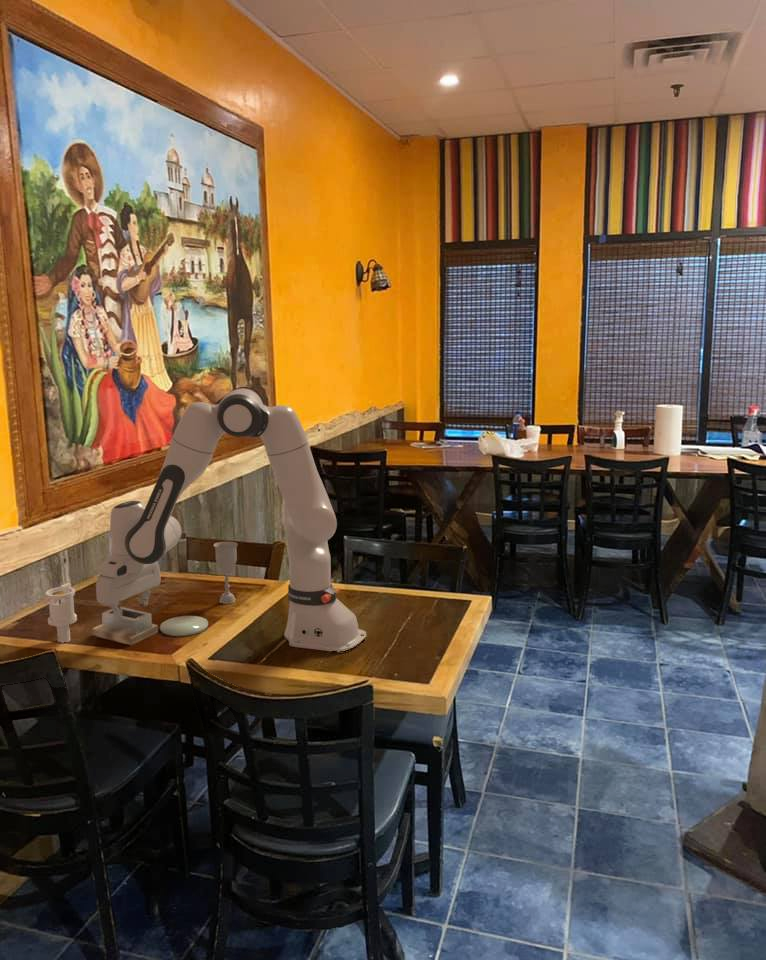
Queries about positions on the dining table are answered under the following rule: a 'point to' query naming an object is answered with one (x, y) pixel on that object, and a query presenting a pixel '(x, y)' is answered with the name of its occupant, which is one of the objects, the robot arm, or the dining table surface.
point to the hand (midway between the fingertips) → (131, 610)
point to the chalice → (226, 566)
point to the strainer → (62, 611)
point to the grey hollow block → (127, 621)
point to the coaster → (183, 626)
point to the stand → (123, 634)
